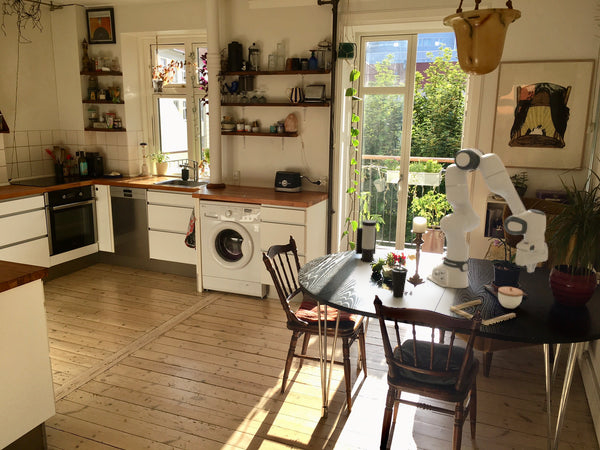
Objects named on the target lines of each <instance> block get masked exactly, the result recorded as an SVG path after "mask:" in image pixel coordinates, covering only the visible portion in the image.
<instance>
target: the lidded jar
mask: <svg viewBox="0 0 600 450" xmlns="http://www.w3.org/2000/svg"><path fill="white" fill-rule="evenodd" d="M523 295H524V292H523V291H522V290H521V289H519V288H516V287H513V286H500V287H499V288H498V291H497V299H498V301H499V303H500V304H501V306H502V307H504V308H506V309H515V308H517V307H518V306H519V305H520V304H521V302H522V299H523Z"/></svg>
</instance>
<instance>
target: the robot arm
mask: <svg viewBox="0 0 600 450" xmlns="http://www.w3.org/2000/svg"><path fill="white" fill-rule="evenodd" d="M453 159H454V163H452V164H450V165H448V166H447V167H446V169H445V176H444V182H445V183H444V184H445V187H444V188H445V196H446V202H447V203H448V204H449V205H450V206H451V208H452V209H453V213H452V212H451V213H448V214H447V215H444V216H443V217H442V218H441V219H440V221H439V227H440V230H441V231H442V232H443V234H444V236H445V240H446V254H445V255H446V256H445V257H442V258H441V261H442V260H443V261H442V263H440V264H438V265H436V266H435V267H434V268H433V270H432V272H431V274H429V275H427V276H426V279H427V280H429V281H431V282H433V283H435V284H436V285H438V286H440V287H442V288H451V289H452V288H453V289H465V288H468V287H469V286H470V284H469V278H468V276H469V275H468V268H469V261H470V260H469V254H470V253H469V251H470V245H469V243H468V241H466V233H468V232H472V231H474V230H476V229H478V227H479V226H480V225H481V217H480V215H479V214H478V213H477V212H476V211H475V209H474V208H473V205H472V203H471V199H470V193H469V192H470V191H469V185H468V184H469V183H468V175H469V173H472V172H474V171H477V170H478V171H479V172H480V173H481V176H482V177H483V180H484V183H485V185H486V187H487V188H488V190H489V191H490V192H491V193H493V194H495V195H498V196H500V197H502V198H503V199H504V200H505V201H506V203H507V205H508V207H509V209H510V211H511V213H512V215H510V216H508V217H506V218H505V220H504V222H503V226H504V230H505V232H507V234H510V235H513V236H519V235H521V236H522V235H523V239H521V241H519V242H518V243H517V244H516V252H515V264H516V265H517V266H520V267H524V266H526V272H527V273H529V274H531V273H535V268H536V267H537V265H538V263H542V262H546V261H547V260H548V258H549V249H548V248H549V247H548V244H547V242H545V241H546V239H545V233H546V229H547V217H546V213H545V212H543V211H542V210H538V209H532V208H531V209H528V210H527V208H526V207H525V205H524V203H523V201H522V199H521V198H520V195H519V193H518V191H517V190H516V188H515V186H514V184H513V182H512V180H511V177H510V176H509V174H508V173H509V172H508V171H507V169H506V167H505V164H504V163H503V161H502V159H501V158H500V156H499V155H498V154H496V153H487V154H485V153H484V152H483V151H482V150H481V149H478V148H474V147H473V148H471V147H469V148H463V149H460V150H458V151H457V152H456V153H455V155H454V157H453Z"/></svg>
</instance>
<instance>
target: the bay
mask: <svg viewBox="0 0 600 450" xmlns="http://www.w3.org/2000/svg"><path fill="white" fill-rule="evenodd" d="M480 304H482V299H475V300H472V301H467V302H463V303H460V304H459V303H458V304H456V305H452V306H449V311H451V312H453V313H455V314H458V315H460V316H462V317H465V318H467V319H468V320H471V319H470V318H472V317H473V316H474V315H473V314H471V313H468V312H466V311H464V310H462V309H464V308H469V307H472V306H476V305H480ZM516 315H517V314H516V313H514V312H511V313H507V314H504V315H500V316H497V317H494V318H491V319H487V320H485V319H482V324H484V325H487V326H489V324H491V325H494V324H496V322H497V323H501V322H502V321H503V320H504V321H507V320H509V318H510V319H513V317H514V318H516ZM500 321H501V322H500ZM504 321H503V322H504ZM493 323H494V324H493ZM482 324H481V325H482ZM484 325H483V326H484Z"/></svg>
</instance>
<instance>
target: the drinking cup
mask: <svg viewBox="0 0 600 450" xmlns="http://www.w3.org/2000/svg"><path fill="white" fill-rule="evenodd" d="M401 265H402V256H400V257H399V265H398V266H394V267H392V268H391V273H392V296H393V297H394V298H399V299H401V298H403V297H404V293H405V286H406V281H407V273H408V269H407V268H405V267H403V266H401Z"/></svg>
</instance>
